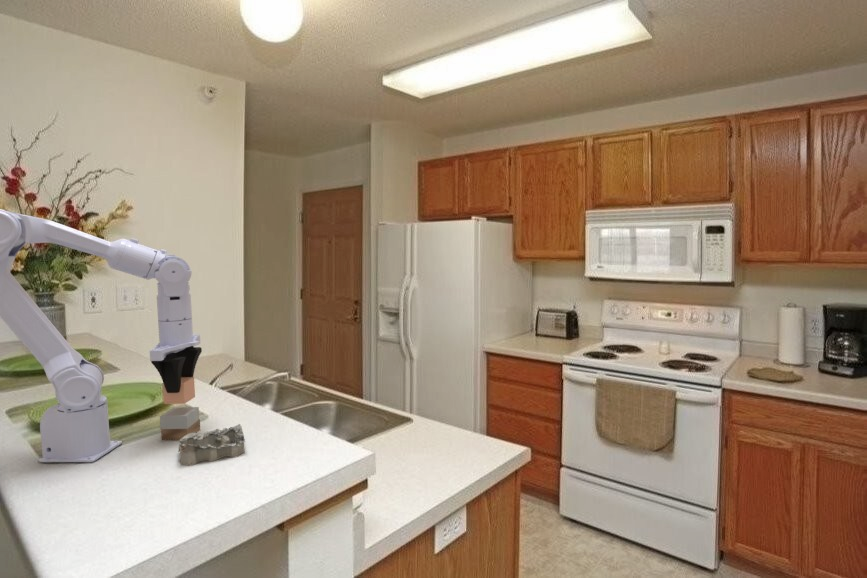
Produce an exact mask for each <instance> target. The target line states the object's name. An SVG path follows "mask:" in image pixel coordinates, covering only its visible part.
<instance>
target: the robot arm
mask: <svg viewBox="0 0 867 578" xmlns="http://www.w3.org/2000/svg"><path fill="white" fill-rule="evenodd" d="M44 243H46V244H47V243H51V244H54V245H55V244H56V245H59V246H62V247H66V248H69V249H73V250H76V251H79V252H83V253H86V254H88V255H93V256H97V257H99V258H103V259H105V261H106V263H107V265H108V267H109V268H110V269H112V270H116V271H119V272H122V273H125V274H129V275H132V276H135V277H139V278H141V279H144V280H149V281H150V280H151V279H155V280H156V281H157V295H156V306H157V307H156V308H157V310H156V311H157V324H158V325H157V326H158V338H159V340H158V341H159V343H157V345H155V347H153V348H152V349H150V350H149V361H150V362H151V364H152V365H153V366H154V368H155V369H156V371H157V372H158V374H159V376H160V377H161V380H162V383H164V386H165V389H166V391H167V393H178V392H179V391H180V386H181V377H194V376H195V375H194V374H195V370H196V365H197V363H198V359H199V357H200V355H201V354H202V347H200V346H199V347H198V345H201V335H200V334H194V330H193V314H192V313H193V312H192V311H193V310H192V298H191V297H192V295H191V293H190V290H191V288H190V284H189V281H190V279H191V278H192V270H191V268H190V265H189V264H188V263H187V261H185V260H184V258H181V257H178V256H176V255H175V254H167V250H166V249H163V248H161V249H160V250H159V249H155V248H153V247H149V246H146V245H143V244H141V243H139V240H138V239H136V238H133V237H131V238H130V239H126V238H119V239H117V240H114V241H108V240H106V239H103V238H100V237H97V236H95V235H92V234H90V233H86V232H84V231H81V230H78V229H76V228H73V227H70V226H67V225H64V224H62V223H59V222H56V221H53V220H50V219H47V218H42V217H37V216H33V215H28V214H22V213H17V212H13V211H8V210H6V209H2V208H0V318H1V320H2V321H3V322H4V323H5V324H6V325H7V327H8V328H9V329H10V330H11V331H12V332H13V334H14V335H15V336H16V337H17V338H18V340H20V342H21V343H22V344H23V345H24V346H25V347H26V349H28V351H29V352H30V353H31V355H32V356H33V357H34V358H35V359H36V360H37V361H38V362H39V364H40V365H41V367H42V368H43V370H44V372H45V375H46V377H47V380H48V382H50V383H51V385H52V387H53V388H54V393H55V399H56V400H57V404H54V405H51V406H50V407H48V408H47V409H45V411H44V412H43V413H42V416H41V419H40V422H39V430H40V431H39V433H40V434H39V435H40V442H41V443H40V444H41V453H42V456H41V457H40V458H39V459H38V462H39V463H93V462H96V461H97V460H98V459H101V458H102V457H103V456H104V455H106V454H108V453H109V452H111V451H112V450H113V449H116V448H117V447H119V446H120V445H121V444H122V443H123V441H122V440H111V436H110V422H109V412H108V411H109V410H108V398H107V396H105V395H104V394H103V393H102V386H103V384H104V379H105V375H104V372H103V370H102V369H101V367H100V366H98V365H97V364H95V363H92V362H90V361H88V360H87V359H85V357H84V356H83V355H82V354H81V353H80V352H78V350H76V349H74V348H73V347H72V346H71V344H70V343H69V342H68V341H67V340H66V339H65V337H64V336H63V334H61V332H60V331H59V330H58V329H57V327H55V325H54V324H53V323H52V322H51V320H50V319H49V318H48V317H47V315H46V314H45V313H44V312H43V310H42V309H41V307H39V306H38V305H37V303H36V302H35V301H34V299H33V298H32V297H31V296H30V295H29V293H28V292H27V291H26V290H25V289H24V287H23V286H22V285H21V284H20V283H19V281H18V279H16V278H15V276H14V275H13V274H12V273H11V270H12V267H13V265H14V262H15V259H16V257H17V254H18V252H20V250H22V248H23V247H24V246H25V245H26V244H44ZM196 346H197V347H196Z"/></svg>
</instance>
